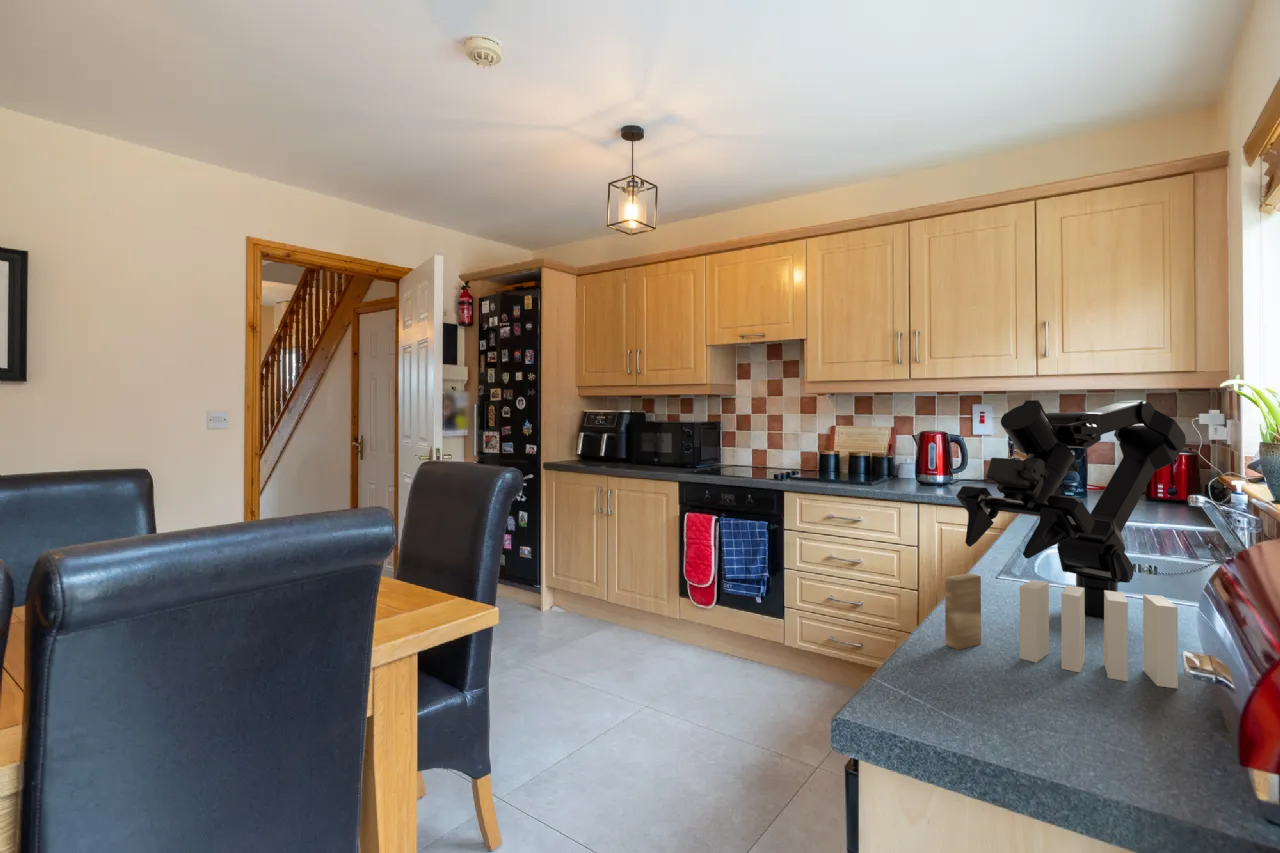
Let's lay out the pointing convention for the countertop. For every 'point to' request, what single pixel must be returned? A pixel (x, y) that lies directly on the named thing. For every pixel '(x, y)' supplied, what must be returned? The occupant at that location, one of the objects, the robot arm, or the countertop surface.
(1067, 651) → the domino
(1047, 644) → the domino
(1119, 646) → the domino
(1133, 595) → the countertop surface
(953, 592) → the domino
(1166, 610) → the domino
